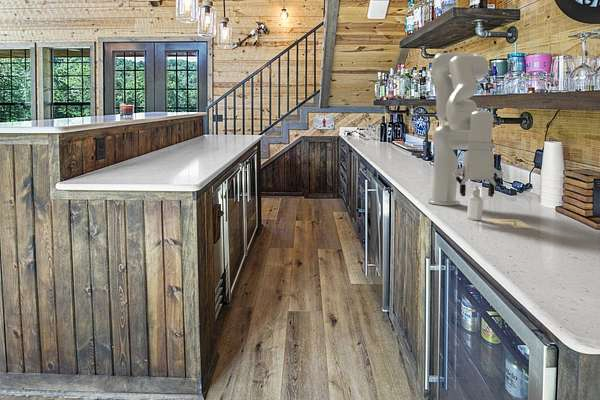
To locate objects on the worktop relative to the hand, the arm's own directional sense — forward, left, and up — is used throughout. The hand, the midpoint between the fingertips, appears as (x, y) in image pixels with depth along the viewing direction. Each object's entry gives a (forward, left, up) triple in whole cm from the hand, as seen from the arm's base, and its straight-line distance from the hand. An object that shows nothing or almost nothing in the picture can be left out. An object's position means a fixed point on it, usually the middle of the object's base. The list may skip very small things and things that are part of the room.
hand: (476, 196), depth 210 cm
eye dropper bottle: (-1, 0, -9) cm, 9 cm away
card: (+6, +10, -8) cm, 14 cm away
